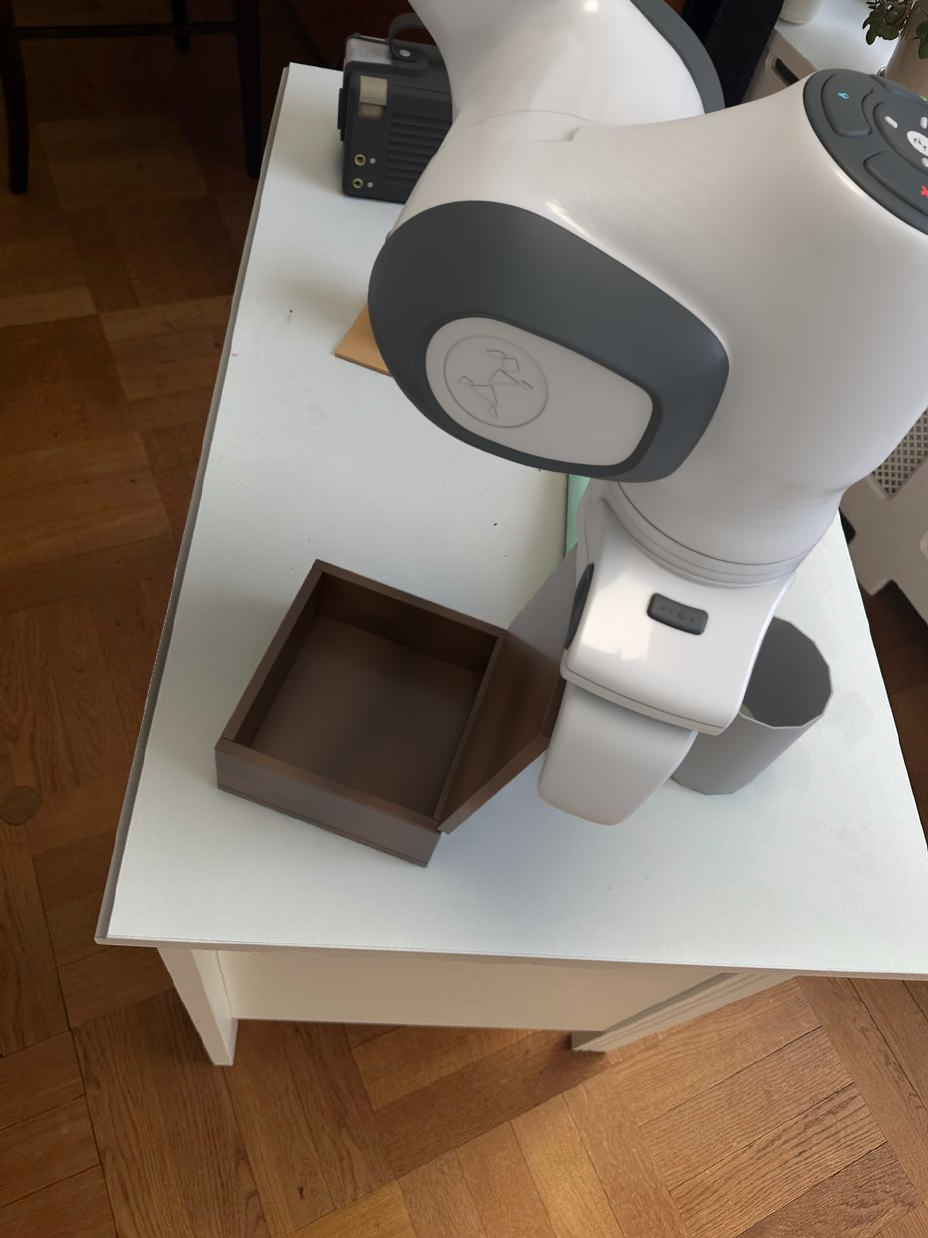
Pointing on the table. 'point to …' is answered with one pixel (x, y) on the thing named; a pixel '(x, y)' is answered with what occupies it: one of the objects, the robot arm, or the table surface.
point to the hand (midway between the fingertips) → (590, 683)
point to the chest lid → (517, 699)
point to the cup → (763, 714)
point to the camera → (391, 112)
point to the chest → (360, 712)
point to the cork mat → (362, 345)
